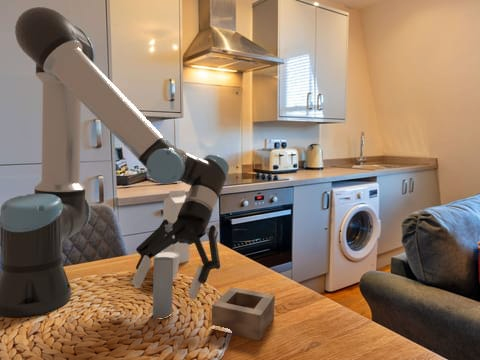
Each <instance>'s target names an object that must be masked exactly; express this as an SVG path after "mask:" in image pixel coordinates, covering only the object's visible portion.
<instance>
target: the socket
mask: <svg viewBox="0 0 480 360" xmlns="http://www.w3.org/2000/svg"><path fill="white" fill-rule="evenodd" d="M275 296H276V295H274V294H268V293H264V292H259V291H254V290H248V289H243V288H238V287H230V288H229V289H228V290H226V291H225V293H223V294H222V295H221V296H220V297H219V298H218V299H217V300H216V301H215V302H214V303H213V304H212V305H211V326H212V325H215V326H220V327H224V328H228V329H230V330H231V331H232V334H231V335H233V336H237V337H242V338H245V339H246V338H247V339H250V340H255V341H257V342H259V341H261V339H262V337H263V336H264V334H265V333H266V331H267V330H268V328H269V326H270V325H271V323H272V322H273V320H274V319H275V318H274V317H275V299H276V297H275Z"/></svg>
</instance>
